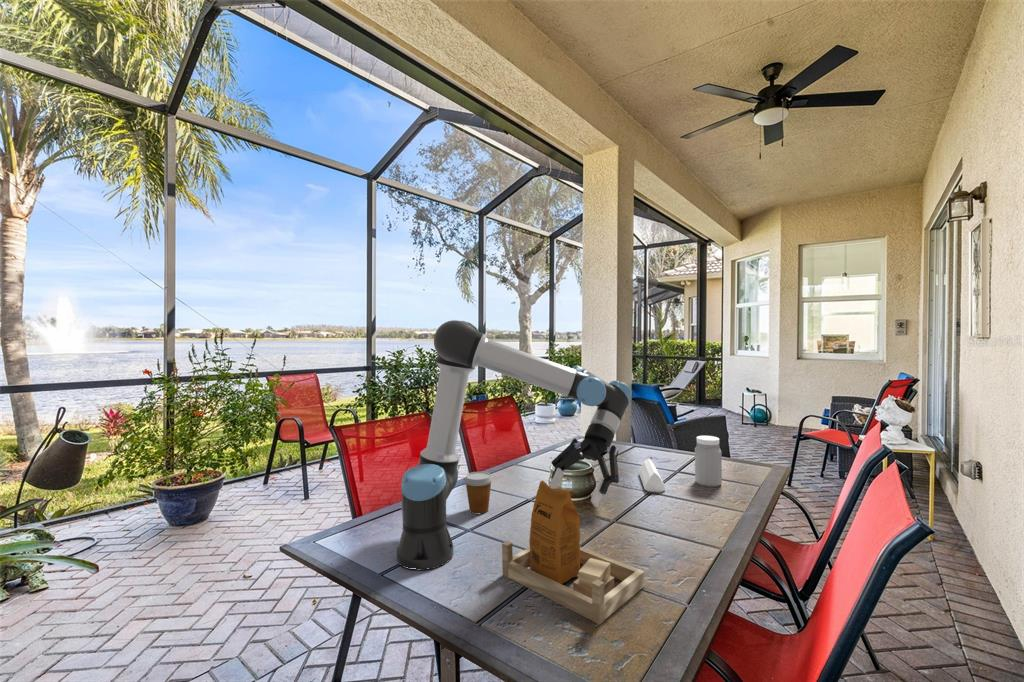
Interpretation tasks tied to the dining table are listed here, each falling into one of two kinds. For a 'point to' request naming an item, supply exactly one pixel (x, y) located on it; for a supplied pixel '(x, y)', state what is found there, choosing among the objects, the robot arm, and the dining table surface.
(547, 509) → the coffee package
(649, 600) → the dining table surface
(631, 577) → the rack
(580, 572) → the offcut upper
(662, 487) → the white triangular prism
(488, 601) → the dining table surface
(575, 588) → the offcut lower
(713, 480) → the jar
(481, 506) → the disposable coffee cup
